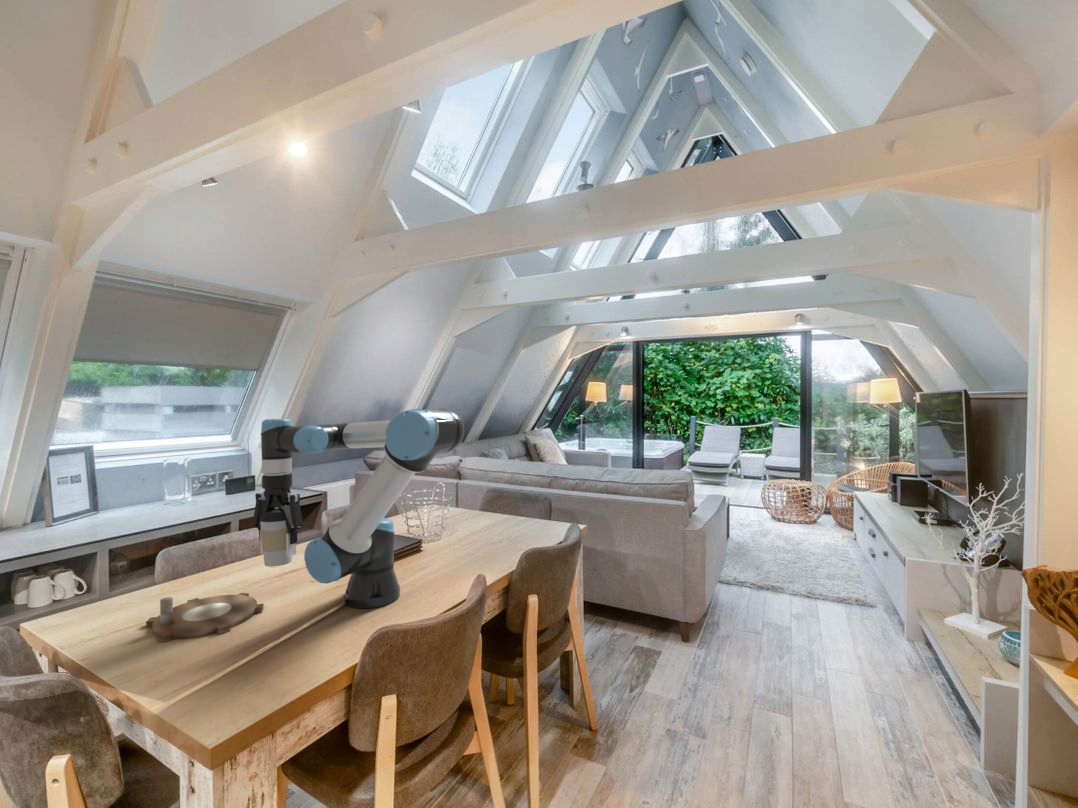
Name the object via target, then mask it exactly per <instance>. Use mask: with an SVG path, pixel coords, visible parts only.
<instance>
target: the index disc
mask: <svg viewBox="0 0 1078 808" xmlns="http://www.w3.org/2000/svg"><path fill="white" fill-rule="evenodd" d="M173 601H174V597H172V596H168V597H163V598H161V599H160V601H159V604H160V605H159V613H160V614H159V615H158V616H152V617H149V618H148V619H147V620H146V622H145V628H151V627H152V634H153V635H154V636H156V642H161V643H167V642H168V641H171V640H183V639H184V640H185V639H193V638H200V637H206V636H209V635H214V634H217V635H222V634H224V633H228V632H231V628H234V627H236V626H239V625H241V624H243V623H244V622H246V621H248V620H250V619H251V618H252V617H253V616H254V615H255V614H258V613H259V614H261V613H263V611H264V609H265V607H264V603H258V602H257V599H255V598H254V597H252V596H250V594H249V592H240V593H238V594H221V595H215V596H209V597H203V598H198V597H196V598H192V599H188V600H186V601H187V602H185V603H182V604H179V605H177V606H173V604H174V603H173Z"/></svg>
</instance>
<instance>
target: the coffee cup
mask: <svg viewBox="0 0 1078 808" xmlns="http://www.w3.org/2000/svg"><path fill="white" fill-rule="evenodd" d="M259 521H260V524H261V529H260V531H261V540H262V550H263V554H262V555H263V561H264V566H265V567H270V568H272V567H279V566H285V565H288V564H290V563H292V562H293V555H292V556H289V557H286V532H288V529H287V526H286V516H284V514H283V512H281V511H280V510H279V509H278V508H275V509H274V511H270V512H267V511H265V512H264V513H263V515H261V516H260V520H259ZM259 521H258V522H259ZM292 528H293V526H292Z"/></svg>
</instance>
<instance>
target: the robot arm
mask: <svg viewBox="0 0 1078 808" xmlns="http://www.w3.org/2000/svg"><path fill="white" fill-rule="evenodd" d="M464 425H465V424H464V422H463V420H462V419H461V417H460V416H459V415H458V414H457V413H455V412H454V411H453V410H450V409H447V408H432V409H423V408H412V409H409V410H404V411H401V412H399V413H397V414H396V415H395V416H393V417H392V418H391V419H389V420H377V421H363V422H362V421H361V422H349V423H348V422H344V423H343V422H342V423H333V424H317V425H316V424H315V425H293V424H292V420H291V419H290V418H269V419H268V418H267V419H264V420H263V421H261V428H260V429H261V430H260V431H261V432H260V440H261V441H260V443H261V448H260V449H261V473H262V474H263V475H262V476H261V487H262V489H264V491H263V492H257V493H255V507H254V512H253V519H252V520H253V522H252V527H253V528H257V530H258V540H259V542H260V554H261V555H264V554H263V550H262V540H261V531H260V529H261V524H260V521H259V520H260V516H261V515H263V513H264V512H265V511H267V512H270V511H274V509H279V510H280V511H281V512H283V514H284V516H286V526H287V529H288V532H286V557H289V556H292V557H293V556H294V555H297V543H298V531H300V530H303V529H304V527H305V526H304V521H303V514H302V510H301V504H300V500H301V495H300V493H295V494H294V493H292V492H291V487H292V486H293V474H292V473H291V472H292V471H293V454H305V455H310V454H311V455H314V454H319V453H321V452H325V451H326V452H327V451H334V450H335V451H336V450H346V449H347V450H348V449H349V450H351V449H366V448H367V449H370V448H373V449H374V448H383V450H384V453H385V454H384V456H383V458H382V459H381V461H380V462H379V464H378V465H377V467H376V469H374V471H373V473H372V474H371V475H370V477H369V478H368V480H367V481H366V483H365V484H364V486H363V487H362V489H361V490H360V492H359V493H358V495H357V496H356V498H355V499H354V500H353V502H352V503H351V505H350V506H349V508H348V509H347V511H346V513H345V514H344V515H343V517H342V518H338V519H336V520H334V521H333V522H332V523H330V525H329V526H328V528H327V530H326V531H325V532H324V534H323V535H322V536H321V537H319V538H318V537H317V538H316V537H315V538H314V539H313V540H311V541H310V542H309V543H308V544H307V545H306V546H305V548H304V553H303V555H304V557H303V558H304V562H305V563H304V564H305V568H306V570H307V572H308V574H309V575H310V577H312V578H313V579H314V580H315V581H316V582H318V583H320V584H326V585H327V584H331V583H333V582H337V581H339V580H340V579H342V578H345V577H347V576H349V575H350V578H349V579H348V583H347V586H346V590H345V592H344V599H345V600H344V603H345V604H346V606H348V607H351V608H354V609H373V608H379V607H383V606H387V605H388V604H389V605H390V604H391V603H393V602H396V601H397V600H398V599H399V598H400V596H401V588H400V584H399V582H398V578H397V575H396V571H395V567H394V566H395V564H394V562H395V557H394V555H395V529H394V528H395V527H394V522H393V521H392V519H389V518H386V515H387V513H389V511H390V510H391V508H392V507H393V506H394V503H396V502H397V500H398V498H399V497H400V495H401V494H402V492H403V491H404V490H405V488H406V487H407V486H408V485H409V483H410V481H411V479H413V477H414V476H415V474H420V473H424V472H425V470H426V469H427V468H428V467H429V466H430V463H431V462H432V461H433V459H434V458H435V457H436V456H437V455H439V456H440V455H443V454H448V453H450V452H452V451H455V450H456V449H457V448H458V447H459V446H460V445H461V443H462V442H463V439H464V436H465V426H464ZM292 526H293V528H292Z"/></svg>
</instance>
